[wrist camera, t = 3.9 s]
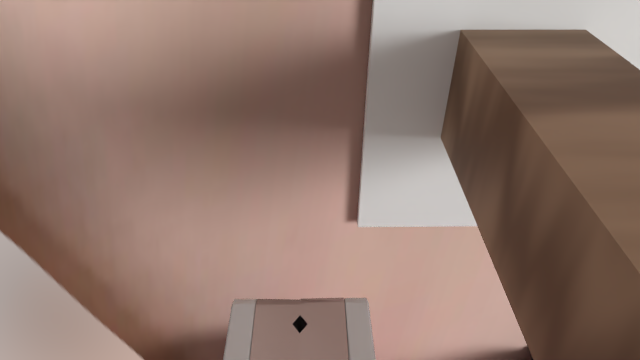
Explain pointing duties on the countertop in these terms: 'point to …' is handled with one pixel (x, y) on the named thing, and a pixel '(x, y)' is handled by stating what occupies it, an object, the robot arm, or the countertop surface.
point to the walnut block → (553, 183)
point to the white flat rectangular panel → (446, 94)
